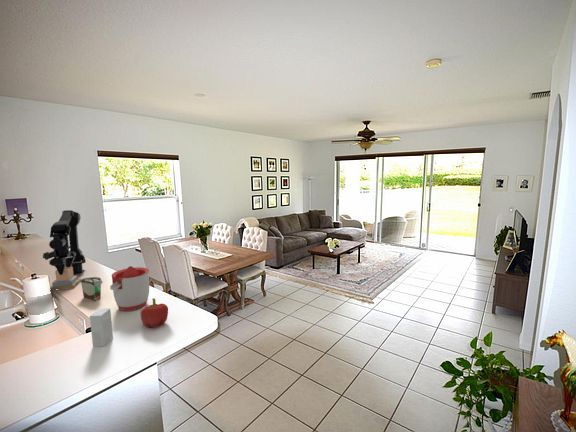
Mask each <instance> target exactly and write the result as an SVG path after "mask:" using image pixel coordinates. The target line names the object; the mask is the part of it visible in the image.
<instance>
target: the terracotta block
mask: <svg viewBox="0 0 576 432" xmlns="http://www.w3.org/2000/svg"><path fill="white" fill-rule="evenodd" d="M74 276H75V275H74V274H73V267H66V266H65V268H64V272H63V274H62V275H60V274H59V272H58V270H57V269H56V270H55V280H56V281H66V280H70V279H71V278H72V277H74Z"/></svg>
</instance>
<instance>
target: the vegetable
mask: <svg viewBox="0 0 576 432" xmlns="http://www.w3.org/2000/svg"><path fill="white" fill-rule="evenodd" d="M151 300H152V304H151V305H148V306H146V305H145V306H143V307H142V309H141V311H140V319H141V323H142V324H143V326H144V327H146V328H150V327H151V328H156V327H158V326H162V325H164V324H165V323H166V321H167V319H168V315H169V307H168V305H167V304H165V303H158V304H157V302H156V299H155V297H154V298H151Z"/></svg>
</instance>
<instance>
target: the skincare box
mask: <svg viewBox="0 0 576 432" xmlns="http://www.w3.org/2000/svg"><path fill="white" fill-rule="evenodd" d="M89 321H90V322H89V323H90V333H91V343H92V347H106V345H107V344H108V343H109V342H110V341H111V340H112V339H113V338H114V333H113V324H112V323H113V322H112V312H111V308H98V309H97V310H96V311H95V312H93V313H92V314H90V315H89Z"/></svg>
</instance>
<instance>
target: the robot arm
mask: <svg viewBox="0 0 576 432" xmlns="http://www.w3.org/2000/svg"><path fill="white" fill-rule="evenodd" d="M81 220H82V219H81V214H80V213H79V212H76V211H74V210H71V209H70V210H69V209H67V210H62V213H61V216H60V218H59V220H58V221H56V222H54V223H53V224H52V225H51V227H50V234H49V238H53V239H51V240H50V241H49V243H48V246H49V247H50V248H51V249H52V250H53V251H46V252H44V253H43V255H42V259H45V261H48V260H49V259H50V260H49V261H48V262H49V266H50V265H51V266H52V267H55V269H56V270H58V272H59V274H60V275H62V274H63V272H64V268H65V267H73V275H74V274H77V275H78V274H79V275H80V274H82V273H84V271H85V269H84V268H83V264H85V263H86V262H87V261H86V256H85V255H84V254H83V251H82V250H81V249H80V247H79V246H80V245H79V235H78V234H79V233H78V226H79V224H80V223H81V222H80V221H81ZM69 249H70V251H69Z"/></svg>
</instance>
